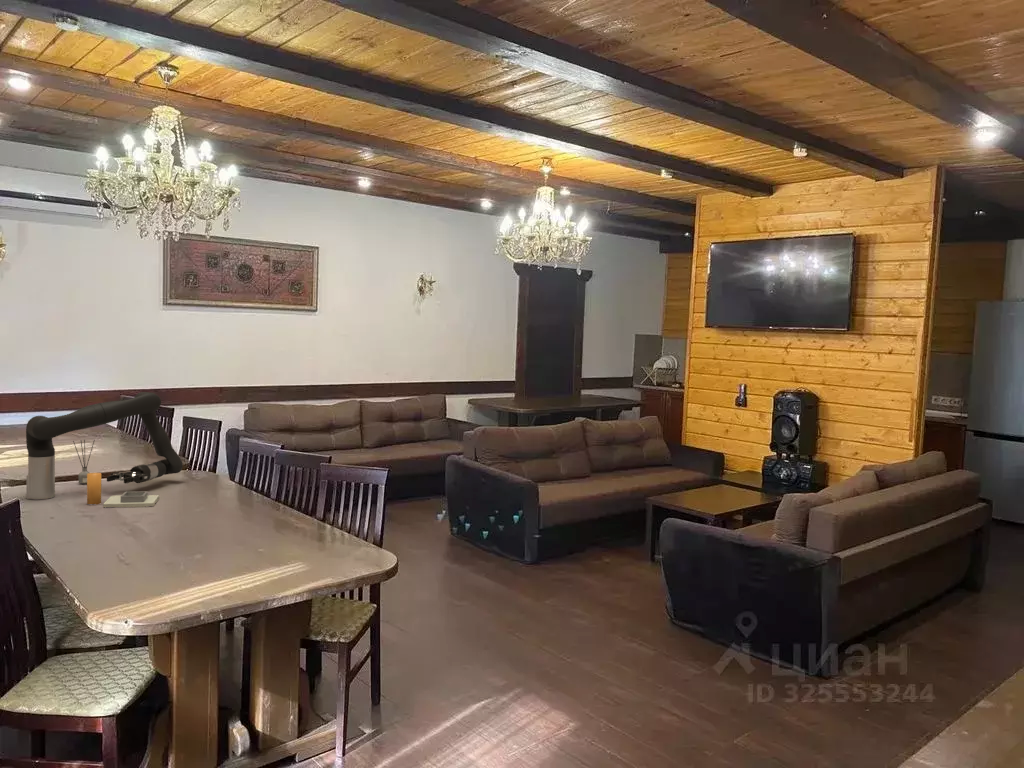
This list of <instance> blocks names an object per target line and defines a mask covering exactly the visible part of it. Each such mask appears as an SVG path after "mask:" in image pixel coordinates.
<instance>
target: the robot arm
mask: <svg viewBox="0 0 1024 768" xmlns="http://www.w3.org/2000/svg"><path fill="white" fill-rule="evenodd" d="M161 405H162V400H161V397H160V396H159V395H158V394H156V393H155V392H148V391H141V392H138V393H136V395H134V397H132V398H129V399H125V400H114V401H113V400H111V401H104V402H103V401H102V402H98V403H95V404H90V405H86V406H84V407H82V408H81V407H80V408H78V409H77V410H74V411H72V412H70V413H68V414H62V415H58V416H52V417H51V416H50V417H48V416H43V415H36V416H32V417H31V418H30V419H29V420H28V421H27V423H26V427H25V439H26V441H25V444H26V450H27V464H28V465H27V469H28V470H27V475H26V476H25V478H26V480H25V481H26V485H25V486H26V494H25V495H26V498H25V499H26V500H27V499H28V500H47V499H48V500H49V499H51V498H52V499H53V498H54V497H55V496H56V494H55V493H56V489H55V488H56V478H55V477H56V461H55V460H56V449H55V447H54V444H53V439H54V438H56V437H58V436H59V437H60V436H62V435H64V434H68V433H71V432H74V431H75V432H76V431H78V430H79V431H80V430H86V429H89V428H93V427H98V426H103V425H106V424H110V423H113V422H116V421H119V420H122V419H125V418H128V417H132V416H138V415H139V417H140V418H141V420H142V422H143V424H144V426H145V428H146V431H147V432H148V434H149V437H150V440H151V442H152V444H153V447H154V450H155V453H156V455H157V456H159V457H163V458H164V459H160V460H157V461H154V462H149V463H143V464H139V465H134V466H132V467H131V468H130V470H127V471H123V470H120V471H116V472H112V473H110V475H107V476H106V482H108V483H109V482H114V481H117V480H118V481H120V482H122V481H123V484H129V483H135V484H142V483H146V482H149V481H151V480H154V479H158V478H160V477H162V476H166V475H172V474H174V475H175V474H178V473H180V472H182V470H183V466H184V465H183V464H184V463H183V460H182V459H181V457H180V456H179V455H178V453H177V451H176V450H175V449H174V447H173V445H172V443H171V439H170V438H169V435H168V433H167V431H166V430H165V428H164V427H163V425H162V423H161V422H160V421H159V418H158V415H157V413H156V411H158V410H159V409H160V407H161Z"/></svg>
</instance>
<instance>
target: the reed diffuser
mask: <svg viewBox="0 0 1024 768" xmlns="http://www.w3.org/2000/svg"><path fill="white" fill-rule="evenodd" d="M72 442H73V445H74V448H75V450H76V453H77V456H78V458H79V462H80V464H81V469H82V470H81V472H79V473H78V477H77V478H78V483H79V484H87V474H88V473H90V472H89V471H88V464H89V460H90V457H91V455H92V454H91V453H92V451H93V447H94V444H95V439H94V440H93V442H92V445H91V449H90V452H89V456H88V459H87V462H86V463H85V456H86V439H83V443H82V441H80V447H81V453H82V455H83V456H82V460H81V458H80V455H79V451H78V449H77V445H76V444H75V441H74V440H73V441H72ZM83 444H84V446H83ZM83 448H84V450H83ZM82 461H83V463H82Z"/></svg>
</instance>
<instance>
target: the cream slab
mask: <svg viewBox="0 0 1024 768" xmlns="http://www.w3.org/2000/svg"><path fill="white" fill-rule="evenodd" d="M148 493H149V492H148V490H147V491H146V490H145V491H124V492H123V494H121V495H110V496H109V498H108V499H107V500H106V501H105V502H104V503H102V508H103V509H107V508H106V507H121V508H148V507H147V506H153V507H155V505H156V504H157V502H158V501H159V500H158V499H160V494H152V495H151V494H148ZM155 503H156V504H155ZM145 506H146V507H145ZM104 507H105V508H104Z"/></svg>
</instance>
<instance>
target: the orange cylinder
mask: <svg viewBox="0 0 1024 768" xmlns="http://www.w3.org/2000/svg"><path fill="white" fill-rule="evenodd" d="M100 503H101V504H102V473H101V472H89V473H88V474H87V483H86V504H87V505H88V504H96V505H100Z"/></svg>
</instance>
